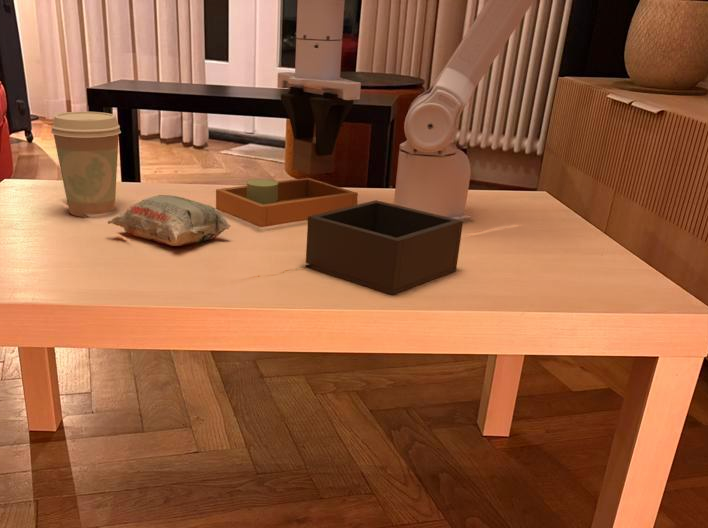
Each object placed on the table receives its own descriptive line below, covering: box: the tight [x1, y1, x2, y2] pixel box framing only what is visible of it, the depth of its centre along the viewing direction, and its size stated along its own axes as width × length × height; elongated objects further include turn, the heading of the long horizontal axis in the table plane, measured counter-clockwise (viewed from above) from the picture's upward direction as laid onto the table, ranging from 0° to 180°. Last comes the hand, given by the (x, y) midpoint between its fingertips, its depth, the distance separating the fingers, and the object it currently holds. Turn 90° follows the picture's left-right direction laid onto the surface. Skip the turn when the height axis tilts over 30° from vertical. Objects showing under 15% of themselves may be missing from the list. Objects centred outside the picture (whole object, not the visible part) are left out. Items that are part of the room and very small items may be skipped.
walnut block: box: [291, 136, 336, 176], centre depth 102 cm, size 4×4×4 cm
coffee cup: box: [50, 111, 122, 218], centre depth 98 cm, size 9×8×12 cm
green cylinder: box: [246, 178, 279, 205], centre depth 100 cm, size 4×4×4 cm
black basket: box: [305, 199, 464, 296], centre depth 82 cm, size 12×12×6 cm
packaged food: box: [107, 194, 231, 247], centre depth 89 cm, size 9×12×5 cm
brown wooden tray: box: [215, 177, 359, 228], centre depth 103 cm, size 16×11×3 cm
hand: (313, 152), depth 102 cm, fingers closed on walnut block, 4 cm apart
